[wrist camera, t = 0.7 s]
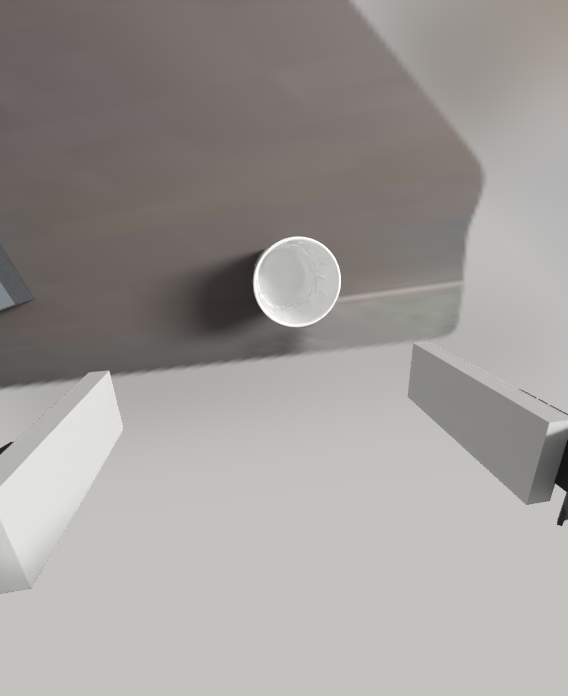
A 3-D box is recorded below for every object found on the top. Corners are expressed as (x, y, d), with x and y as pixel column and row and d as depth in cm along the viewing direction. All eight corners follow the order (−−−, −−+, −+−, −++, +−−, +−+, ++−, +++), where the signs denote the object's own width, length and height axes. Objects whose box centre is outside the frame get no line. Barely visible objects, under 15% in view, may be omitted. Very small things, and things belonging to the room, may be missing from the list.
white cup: (259, 314, 38) (267, 337, 29) (239, 249, 36) (241, 251, 26) (321, 296, 39) (348, 313, 29) (305, 230, 36) (330, 225, 27)
